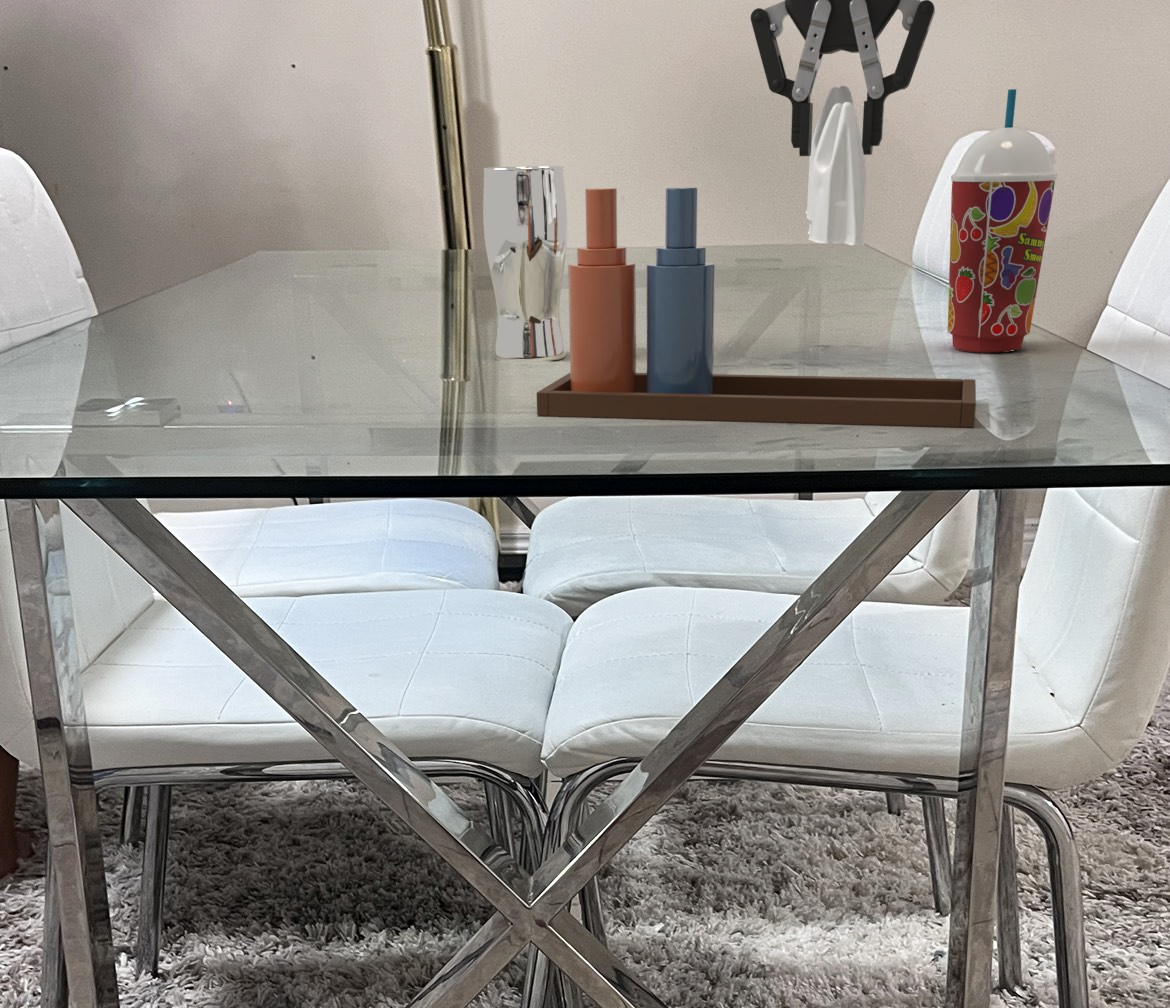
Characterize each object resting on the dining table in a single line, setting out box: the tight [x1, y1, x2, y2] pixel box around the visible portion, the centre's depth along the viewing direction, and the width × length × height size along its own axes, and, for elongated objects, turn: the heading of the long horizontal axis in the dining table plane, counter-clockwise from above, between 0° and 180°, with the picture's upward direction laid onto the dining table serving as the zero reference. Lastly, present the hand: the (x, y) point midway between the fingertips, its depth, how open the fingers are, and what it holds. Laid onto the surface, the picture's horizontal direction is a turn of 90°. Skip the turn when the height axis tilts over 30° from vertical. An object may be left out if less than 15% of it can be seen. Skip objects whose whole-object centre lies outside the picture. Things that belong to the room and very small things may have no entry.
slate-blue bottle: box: [646, 186, 716, 394], centre depth 91 cm, size 4×4×14 cm
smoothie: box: [947, 88, 1058, 354], centre depth 116 cm, size 8×8×20 cm
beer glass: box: [482, 165, 568, 362], centre depth 117 cm, size 7×7×15 cm
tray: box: [536, 372, 977, 429], centre depth 92 cm, size 28×9×2 cm, turn 76°
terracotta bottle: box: [567, 187, 637, 393], centre depth 92 cm, size 4×4×14 cm
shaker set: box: [805, 85, 867, 246], centre depth 108 cm, size 12×4×11 cm, turn 174°
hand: (836, 154), depth 108 cm, fingers closed on shaker set, 4 cm apart
